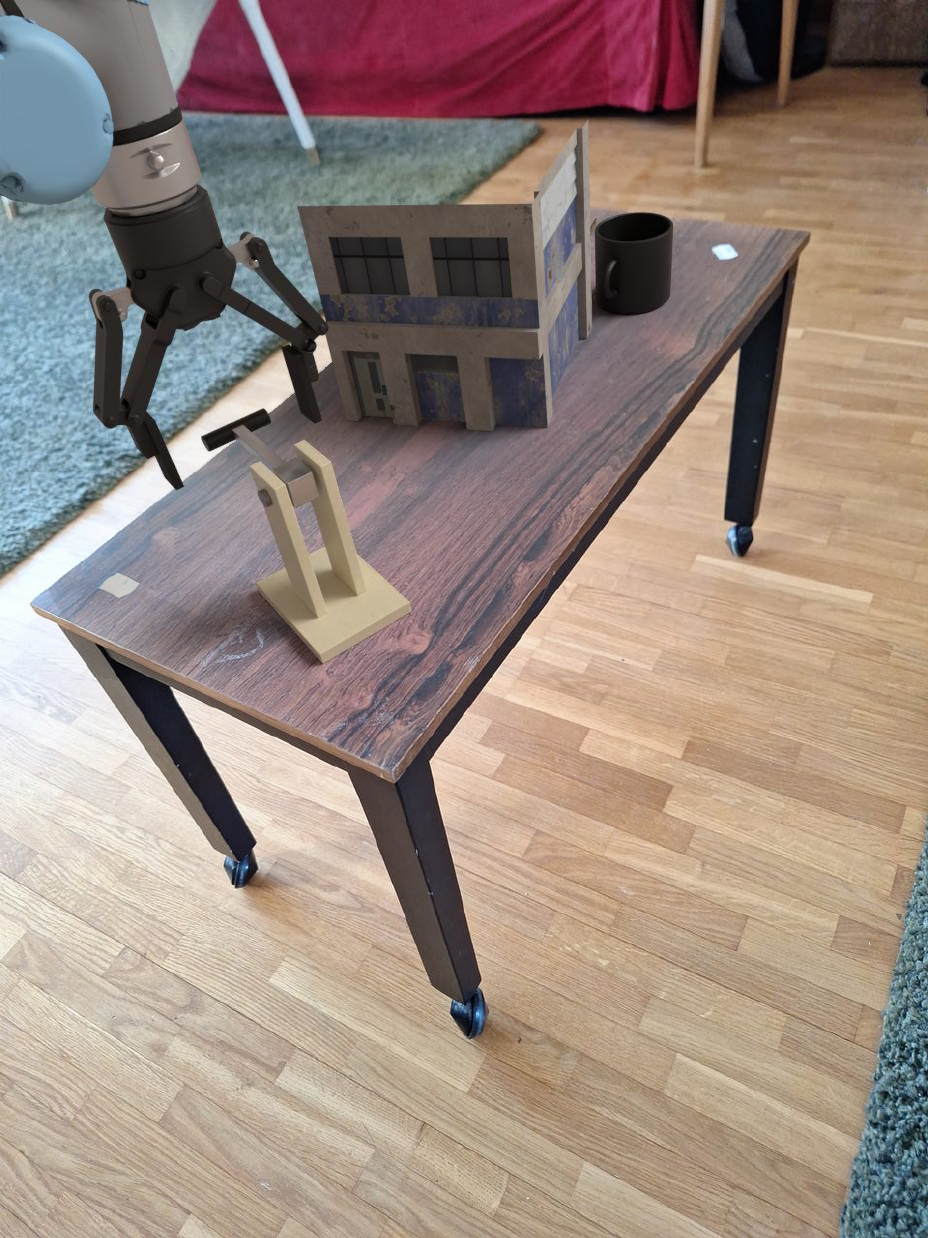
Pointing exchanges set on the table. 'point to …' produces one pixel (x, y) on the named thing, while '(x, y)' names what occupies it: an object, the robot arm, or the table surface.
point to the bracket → (323, 567)
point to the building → (457, 300)
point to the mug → (633, 262)
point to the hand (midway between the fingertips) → (245, 448)
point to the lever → (266, 455)
